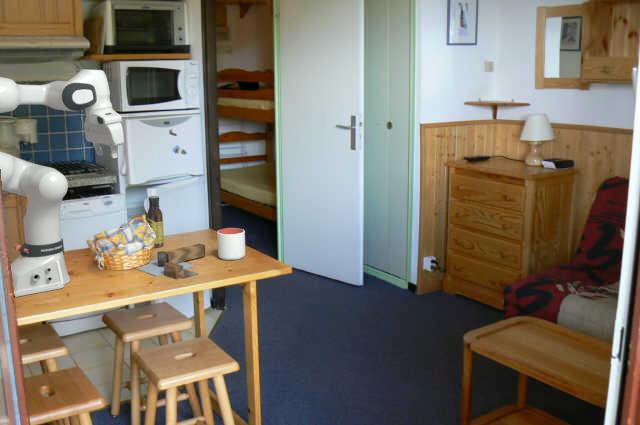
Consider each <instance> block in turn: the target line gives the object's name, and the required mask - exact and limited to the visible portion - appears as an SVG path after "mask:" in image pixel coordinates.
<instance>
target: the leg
mask: <svg viewBox="0 0 640 425" xmlns="http://www.w3.org/2000/svg"><path fill="white" fill-rule="evenodd" d="M156 255H157V258H156V259H157V260H158V266H164V263H168V262H173V263H179V262H186V261H190V260H194V259H199V258H202V257H205V256H206V245H205V244H201V243H195V244H192V245H191V244H190V245H188V246H184V247H179V248H175V249H171V250H167V251H165V250H163V251H161V250H160V251H157V253H156Z"/></svg>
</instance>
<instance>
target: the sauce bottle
mask: <svg viewBox="0 0 640 425" xmlns="http://www.w3.org/2000/svg"><path fill="white" fill-rule="evenodd" d="M148 204H149V205H148V211H147V214H146V217H145V218H146V223H147V222H148V223H149V225H150V227H151V228H152V229H153V231H154V232H155V235H156V238H155V241H154V248H162V247H164V245H165V244H164V242H165V237H164V236H165V235H164V233H165V232H164V219H163V218H164V217H163V211H162V210H161V209H160V196H159V195H150V196H148Z"/></svg>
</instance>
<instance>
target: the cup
mask: <svg viewBox="0 0 640 425" xmlns="http://www.w3.org/2000/svg"><path fill="white" fill-rule="evenodd" d="M216 233H217V234H216V235H217V236H216V237H217V257H218V258H220V259H221V260H223V261H237V260H241V259H243V258H244V257H245V255H246V235H245V234H246V231H245V230H244V228H243V229H242V228H239V227H238V228H237V227H227V228H226V227H225V228H222V229H218V230H217V231H216Z"/></svg>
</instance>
